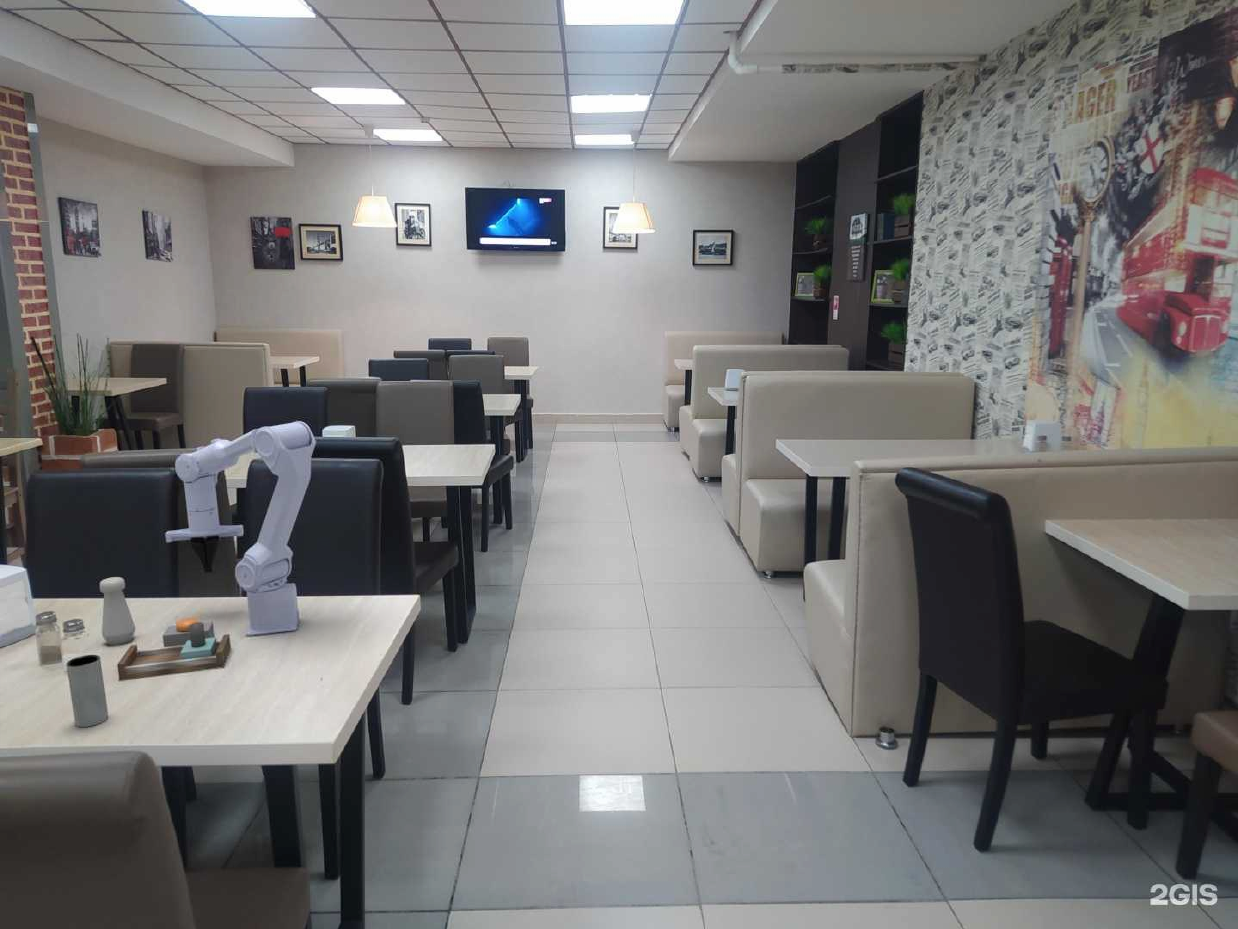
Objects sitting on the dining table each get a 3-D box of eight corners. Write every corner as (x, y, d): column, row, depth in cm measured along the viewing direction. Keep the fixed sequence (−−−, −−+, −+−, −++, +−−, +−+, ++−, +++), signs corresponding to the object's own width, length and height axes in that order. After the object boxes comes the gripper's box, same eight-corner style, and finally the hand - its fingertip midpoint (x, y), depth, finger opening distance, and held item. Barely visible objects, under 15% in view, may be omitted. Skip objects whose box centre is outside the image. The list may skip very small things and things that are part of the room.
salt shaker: (143, 636, 168) (135, 574, 166) (124, 647, 163) (115, 583, 160) (116, 635, 169) (108, 574, 167) (96, 646, 163) (87, 583, 161)
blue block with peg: (217, 647, 159) (213, 617, 158) (211, 659, 153) (208, 628, 152) (188, 650, 158) (184, 620, 156) (181, 663, 152) (177, 632, 151)
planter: (84, 714, 135) (76, 655, 133) (114, 713, 136) (105, 653, 134) (69, 728, 131) (60, 667, 129) (99, 726, 131) (90, 665, 129)
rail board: (230, 648, 161) (229, 634, 161) (223, 667, 153) (221, 652, 152) (132, 660, 156) (130, 645, 156) (119, 680, 148) (117, 664, 147)
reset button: (202, 636, 165) (200, 616, 165) (199, 644, 162) (196, 623, 161) (180, 639, 164) (178, 619, 164) (176, 646, 161) (173, 626, 160)
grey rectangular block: (214, 638, 167) (212, 621, 166) (210, 647, 162) (208, 630, 161) (170, 643, 164) (168, 626, 164) (164, 652, 160) (162, 635, 159)
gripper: (242, 501, 179) (248, 562, 182) (168, 507, 175) (175, 569, 178) (237, 509, 173) (244, 571, 175) (160, 515, 169) (168, 579, 171)
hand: (209, 571), depth 176 cm, fingers closed
